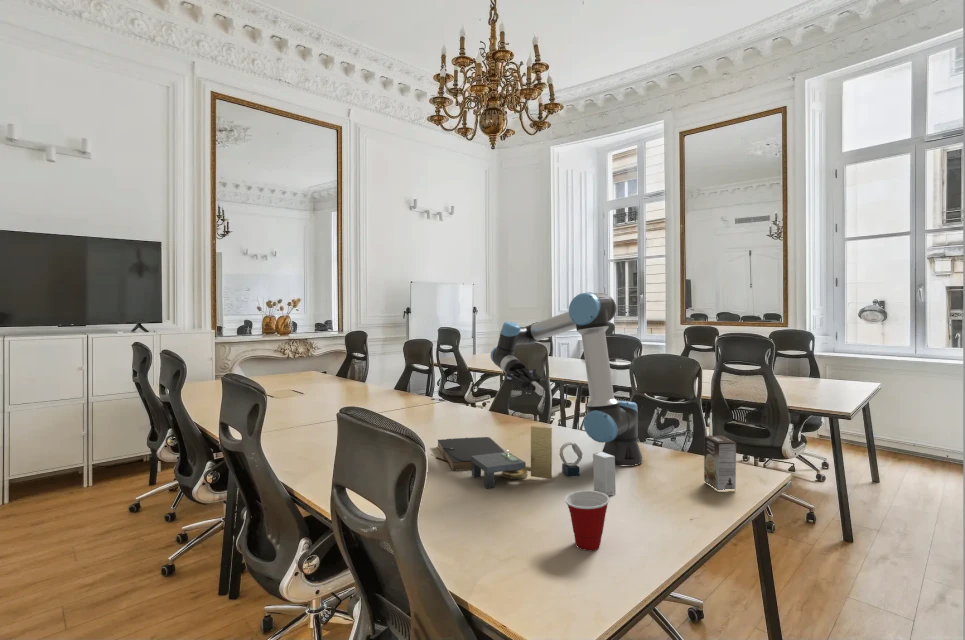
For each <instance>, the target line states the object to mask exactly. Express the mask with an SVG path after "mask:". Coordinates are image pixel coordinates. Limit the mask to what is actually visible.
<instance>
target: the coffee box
mask: <svg viewBox="0 0 965 640" xmlns="http://www.w3.org/2000/svg"><path fill="white" fill-rule="evenodd" d="M703 453H704V458H703V459H704V460H703V464H704V465H703V467H704V468H703V469H704V471H703V473H704V474H703V477H704V478H703V480H704V481H705V482H706V483H708V484H710V485H711V486H713V487H714V488H716V489H717V490H723V489H724V490H725V489H735V490H736V480H737V478H736V477H737V476H736V475H737V473H736V471H737V470H736V468H737V442H736V441H734V440H732V439H731V438H729V437H726V436H724V435H722V434H721V435H704V451H703ZM704 481H703V482H704Z"/></svg>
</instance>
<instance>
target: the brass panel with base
mask: <svg viewBox="0 0 965 640" xmlns="http://www.w3.org/2000/svg"><path fill="white" fill-rule="evenodd" d="M552 430H553V429H552V427H545V426H537V425H536V426H530V466H529V465H526V468H525V469H517V470H510V471H502V472H501V476H502V477H503V478H505V479H509V480H521V479H526V478H527V477H528V472H530V477H533V478H542V479H547V480H551V479H552V478H553V476H552V469H553V468H552V467H553V466H552V464H553V462H552V461H553V459H552V455H553V454H552V453H553V452H552V451H553V450H552V449H553V448H552V447H553V446H552V445H553V444H552V439H553V437H552V435H553V431H552Z"/></svg>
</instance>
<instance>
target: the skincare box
mask: <svg viewBox="0 0 965 640" xmlns="http://www.w3.org/2000/svg"><path fill="white" fill-rule="evenodd" d="M592 460H593V461H592V464H593V469H592V470H593V491H597V492H601V493H604V494H606V495H607V496H608V497H609V495H610V496H613V494H614V495H616V493H617V492H616V487H617V486H616V465H615V456H612V455H610V454H607V453H604V452H602V451H600V452H595V453H592Z"/></svg>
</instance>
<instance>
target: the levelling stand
mask: <svg viewBox="0 0 965 640" xmlns="http://www.w3.org/2000/svg"><path fill="white" fill-rule="evenodd" d="M471 462H472V469H471V477H472V478H473V479H477V478H478V479H479V478H482V471H483V480H484V481H483V487H484V488H485V489H487V490H489V489H494V488H495V473H502V471H510V470H517V469H525V468H526V466H527V465H526V461H524V460H522V459H521V458H519V457H517V456H515V455H513V454H512V453H510V450H509V449H505V450H504V452H501V453H493V454H484V455H476V456H471Z"/></svg>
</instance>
